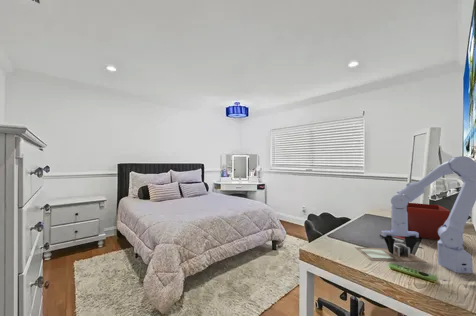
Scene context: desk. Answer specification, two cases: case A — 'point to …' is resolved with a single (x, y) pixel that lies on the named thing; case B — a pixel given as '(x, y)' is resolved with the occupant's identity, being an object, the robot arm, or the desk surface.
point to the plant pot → (426, 219)
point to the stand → (387, 255)
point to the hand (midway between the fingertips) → (399, 252)
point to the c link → (404, 250)
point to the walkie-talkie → (400, 239)
